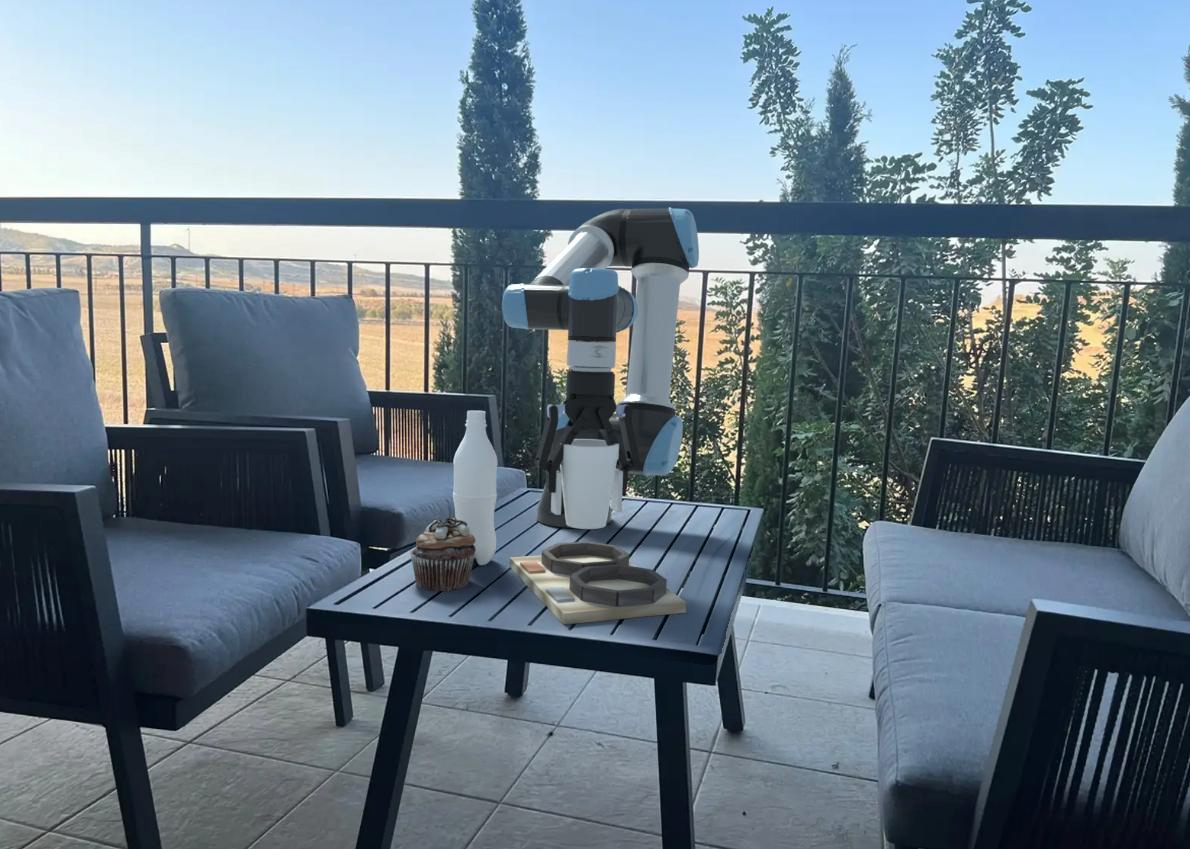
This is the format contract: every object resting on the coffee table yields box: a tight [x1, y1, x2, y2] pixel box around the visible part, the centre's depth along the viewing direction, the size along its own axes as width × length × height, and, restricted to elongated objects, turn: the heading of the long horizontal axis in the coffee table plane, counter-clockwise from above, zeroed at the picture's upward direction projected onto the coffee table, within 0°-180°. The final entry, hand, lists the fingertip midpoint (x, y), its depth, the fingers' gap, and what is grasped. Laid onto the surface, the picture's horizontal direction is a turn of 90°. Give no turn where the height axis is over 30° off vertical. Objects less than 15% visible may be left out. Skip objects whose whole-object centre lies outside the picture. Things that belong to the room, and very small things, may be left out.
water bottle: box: [452, 410, 499, 566], centre depth 139 cm, size 7×7×25 cm
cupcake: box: [410, 515, 476, 592], centre depth 128 cm, size 10×10×10 cm
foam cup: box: [560, 439, 619, 530], centre depth 134 cm, size 10×9×13 cm
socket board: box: [509, 541, 687, 625], centre depth 129 cm, size 28×18×4 cm, turn 20°
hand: (586, 511), depth 135 cm, fingers closed on foam cup, 9 cm apart
